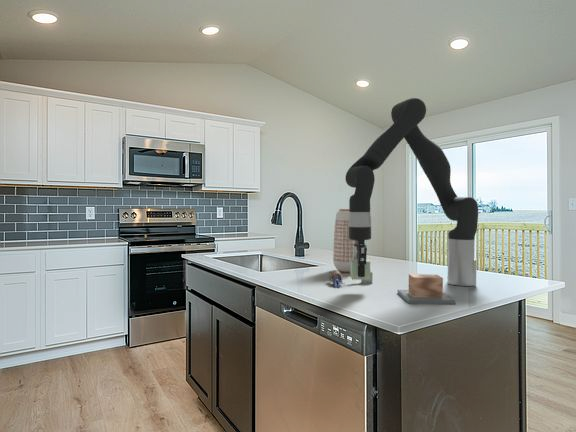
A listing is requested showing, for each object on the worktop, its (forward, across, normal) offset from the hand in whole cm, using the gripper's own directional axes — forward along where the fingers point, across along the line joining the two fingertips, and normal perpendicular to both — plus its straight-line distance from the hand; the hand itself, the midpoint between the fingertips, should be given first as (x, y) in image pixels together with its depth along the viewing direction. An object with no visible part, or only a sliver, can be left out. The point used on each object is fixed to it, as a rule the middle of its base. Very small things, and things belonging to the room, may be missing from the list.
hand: (360, 275), depth 132 cm
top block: (+1, 0, 0) cm, 1 cm away
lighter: (+6, +18, -4) cm, 19 cm away
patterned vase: (+6, +44, -1) cm, 44 cm away
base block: (+5, -7, -20) cm, 21 cm away
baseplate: (+6, -7, -20) cm, 22 cm away
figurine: (+6, +13, +7) cm, 16 cm away
